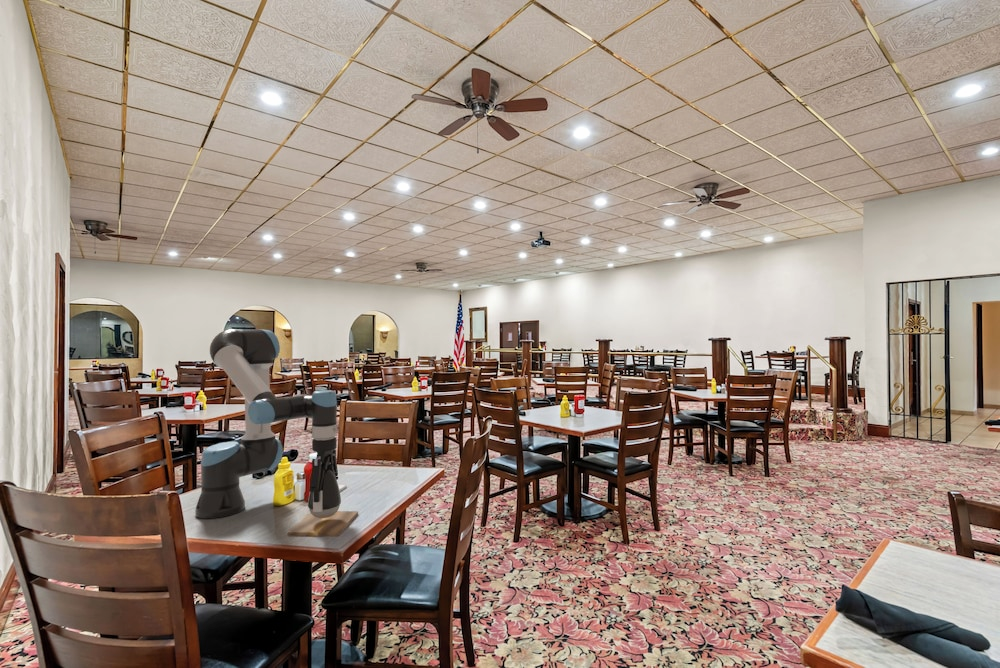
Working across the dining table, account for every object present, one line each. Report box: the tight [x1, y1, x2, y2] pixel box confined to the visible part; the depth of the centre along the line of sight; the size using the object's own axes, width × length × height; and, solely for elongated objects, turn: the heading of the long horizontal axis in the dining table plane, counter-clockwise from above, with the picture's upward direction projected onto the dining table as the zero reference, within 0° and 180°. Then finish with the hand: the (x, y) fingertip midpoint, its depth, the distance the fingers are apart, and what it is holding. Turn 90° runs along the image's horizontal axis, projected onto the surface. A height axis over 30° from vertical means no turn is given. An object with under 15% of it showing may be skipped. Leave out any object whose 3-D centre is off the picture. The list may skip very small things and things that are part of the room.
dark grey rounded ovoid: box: [307, 469, 342, 518], centre depth 156 cm, size 10×10×15 cm
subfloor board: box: [287, 510, 359, 537], centre depth 156 cm, size 16×18×1 cm
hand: (324, 505), depth 156 cm, fingers closed on dark grey rounded ovoid, 10 cm apart
